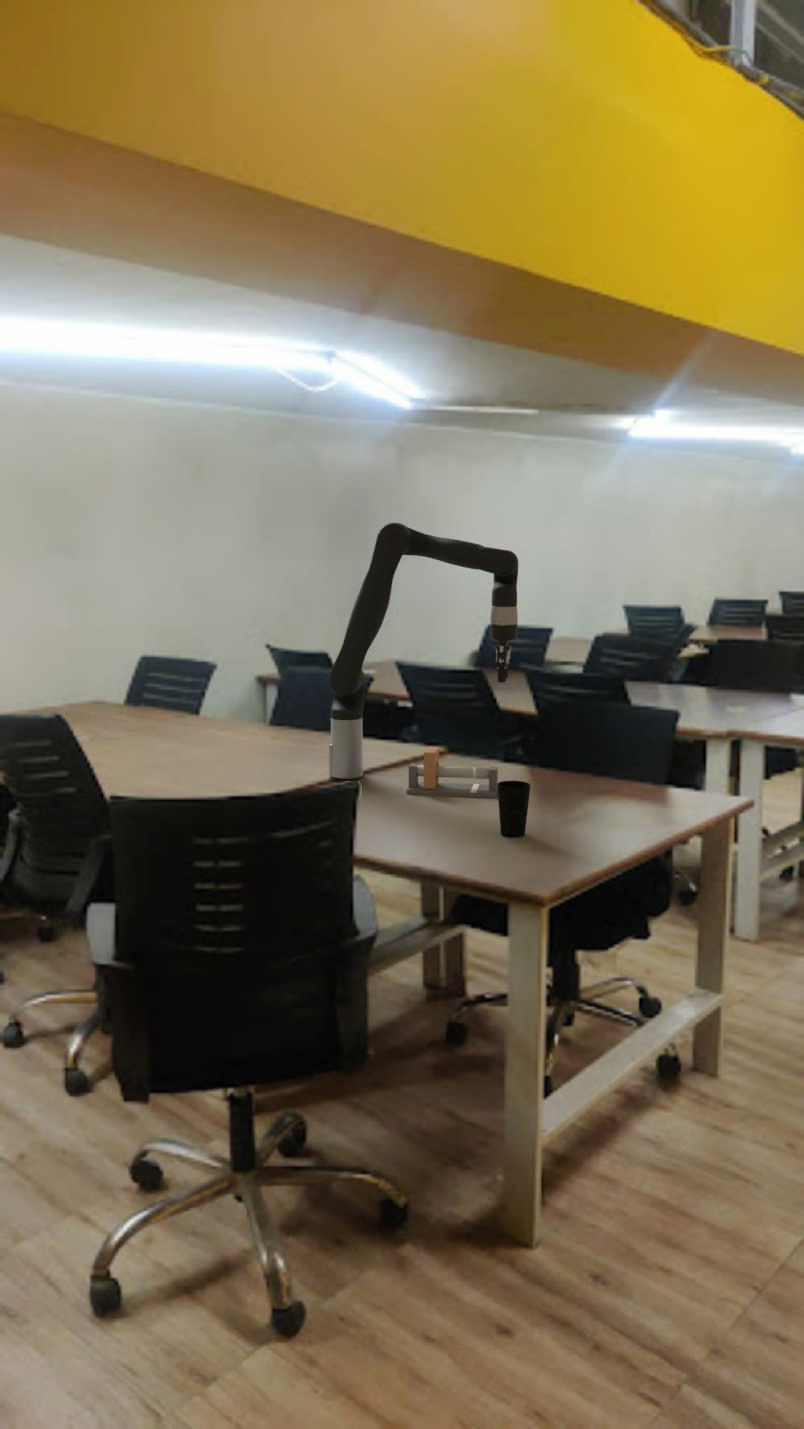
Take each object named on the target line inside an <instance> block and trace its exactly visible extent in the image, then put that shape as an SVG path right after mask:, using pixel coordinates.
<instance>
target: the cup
mask: <svg viewBox="0 0 804 1429" xmlns="http://www.w3.org/2000/svg"><path fill="white" fill-rule="evenodd" d="M531 787H532V786H531V784H530V782H527V781H522V780H502V781H499V782H498V784H497V789H498V792H497V797H498V798H497V799H498V813H499V824H500V825H499V826H500V835H501V836H502V837H505V838H510V839H512V838H513V839H519V838H523V837H525V835H526V827H527V817H528V810H529V803H530V802H529V801H530V792H531Z"/></svg>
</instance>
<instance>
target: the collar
mask: <svg viewBox="0 0 804 1429" xmlns="http://www.w3.org/2000/svg"><path fill="white" fill-rule="evenodd" d="M423 765H424V776H423V782H424V789H435V788H436V786H437V785H438V783H440V777H436V766H440V746H428V747H427V748H426V749H425V750H424V751H423Z"/></svg>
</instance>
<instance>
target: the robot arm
mask: <svg viewBox="0 0 804 1429" xmlns="http://www.w3.org/2000/svg"><path fill="white" fill-rule="evenodd" d="M374 544H375V545H374V548H373V553H372V556H371V560H370V563H369V568H368V570H367V572H366V575H365V576H364V578H363V581H362V584H361V586H360V588H359V592H358V594H357V596H356V600H355V601H354V605H353V608H352V610H351V614H350V617H349V621H348V624H347V627H346V631H345V634H344V638H343V641H342V645H341V647H340V650H339V652H338V655H337V656H336V659H335V661H334V662H333V665H332V667H331V669H330V671H329V673H328V679H327V681H328V686H329V689H330V691H331V692H332V693H333V694H332V696H333V698H332V704H331V707H330V744H328V763H329V764H328V769H329V770H328V776H329V777H330V778H336V779H340V780H341V779H342V780H343V779H345V780H347V779H350V780H351V779H358V778H362V777H363V774H364V773H363V772H364V770H363V769H364V767H363V766H364V765H363V764H364V761H363V760H364V759H363V749H364V748H363V744H364V743H363V742H364V741H363V740H364V739H363V737H364V735H363V712H364V711H363V710H364V708H365V707H364V706H365V673H364V671H363V665H364V662H365V659H366V657H367V653H368V651H369V650H370V647H371V646H372V644H373V642H374V641H375V639H376V637H377V635H378V633H379V631H380V629H381V627H382V624H383V622H384V620H385V617H386V614H387V611H388V608H389V605H390V600H391V596H392V595H391V594H392V590H393V588H392V586H393V581H394V576H395V573H396V571H397V568H398V566H399V563H400V561H401V559H402V557H403V556H415V557H417V556H418V557H422V558H423V557H424V558H429V559H433V560H436V561H439V562H443V563H446V564H449V565H453V566H457V567H461V568H466V569H471V570H477V571H478V570H480V571H483V572H485V573H490V574H493V587H492V590H491V610H490V621H489V622H490V624H489V625H490V626H489V627H490V630H489V633H490V634H489V638H490V639H491V640H492V641H498V645H497V646H495V654H496V656H495V662H496V663H495V665H496V669H497V683H500V684H501V683H505V682H507V681H506V680H507V679H508V677H509V665H510V659H511V651H512V645H511V643H510V641H517V639H518V621H519V620H518V614H519V613H518V587H517V586H518V576H519V559H518V556H517V554H516V553H515V552H513V551H512V550H507V549H500V548H495V547H489V546H484V545H482V544H479V543H476V542H472V541H471V542H469V541H465V540H460V539H455V538H449V537H448V538H447V537H442V536H441V537H440V536H435V535H430V534H426V533H424V532H421V531H419V530H415V529H413V528H410V527H408V526H407V525H405V524H404V523H400V522H388V523H386V524H384V525H383V526H382V527H381V528H380V529H379V530H378V533H377V535H376V539H375V543H374Z"/></svg>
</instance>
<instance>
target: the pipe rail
mask: <svg viewBox="0 0 804 1429" xmlns="http://www.w3.org/2000/svg"><path fill="white" fill-rule="evenodd" d="M498 770H499V767H498V766H489V767H477V766H473V767H472V766H471V767H470V766H450V765H449V766H447V765H439V766H436V777H439V778H452V779H454V778H455V779H456V778H457V779H474V780H477V779H479V780H488V784H480V783H451V782H449V783H448V782H439V783H438V785H437V786H436V788H435V789H424V781H419V777H424V764H423V765H422V764H421V765H419V763H410V764H409V765H408V787H407V789H406V795H420V796H421V795H422V796H444V797H465V798H466V797H467V798H468V797H469V798H488V799H489V798H490V799H491V798H492V799H495V798H496V797H497V796H498V789H497V784H498V783H499V782H498V779H499V777H498V774H499V772H498Z"/></svg>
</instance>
